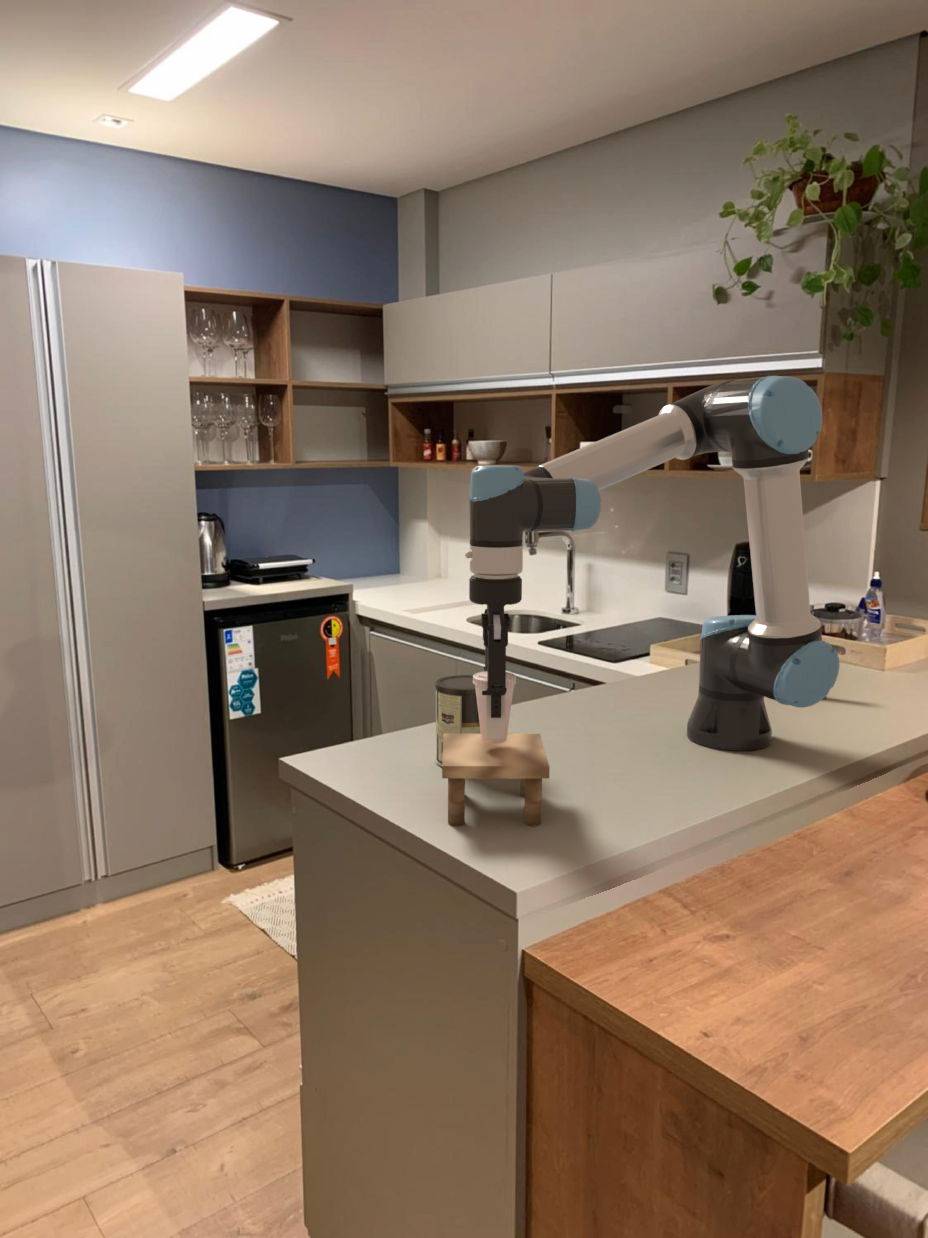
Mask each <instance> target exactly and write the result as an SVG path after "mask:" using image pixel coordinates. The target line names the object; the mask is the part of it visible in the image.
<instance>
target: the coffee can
mask: <svg viewBox="0 0 928 1238" xmlns="http://www.w3.org/2000/svg"><path fill="white" fill-rule="evenodd" d="M473 675H474V674H457V675H449V676H444V677H441V678H437V679H436V680H435V681H434V687H435V764H436V765H437V766H439V767H440V768H442V760H443V737H444V734H481V731H480V723H479V714H478V706H477V697H476V689H475V684H474V683H473Z"/></svg>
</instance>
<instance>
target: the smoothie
mask: <svg viewBox="0 0 928 1238" xmlns="http://www.w3.org/2000/svg"><path fill="white" fill-rule="evenodd" d="M472 675H473V683H474V684H475V689H476V697H477V706H478V714H479V723H480V731H481V740H482V741H483V742H486V743H493V744H496V743H503V742H505V741H506V740H507V734H509V733H508V731H509V726H510V725H509V723H510V716H511V709H512V702H513V696H514V688H515V685H516V684H517V675H516V674H515V673H511V672H508V671H506V688H507V691H506V694H505V739H486V695H482V691H486V689H487V671H485V670H484V671H479V672H477V673H474V674H472ZM493 686H501V685H493Z"/></svg>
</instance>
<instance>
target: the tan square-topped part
mask: <svg viewBox="0 0 928 1238" xmlns="http://www.w3.org/2000/svg"><path fill="white" fill-rule="evenodd" d="M545 749H546V748H545V746H544V742H543V740H542V736H541V733H507V740H506V741H505V742H503V743H496V744H493V743H486V742H483V741H482V740H481V734H444V737H443V760H442V767H441V773H442V774H441V779H447V824H448V825H449V826H453V827H459V826H463V825H465V823H466V820H465V819H466V816H465V815H466V805H465V804H466V779H519V796H520V797H522V798H524V824H525V825H527V826H530V827H537V826H540V825H541V824H542V812H543V811H542V805H543V804H542V803H543V802H542V801H543V796H542V795H543V779H549V780H550V767H551V766H550V763H549V760H548V756H547V754H546V750H545Z"/></svg>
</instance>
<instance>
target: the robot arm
mask: <svg viewBox="0 0 928 1238" xmlns="http://www.w3.org/2000/svg"><path fill="white" fill-rule="evenodd" d="M822 426H823V409H822V405H821V403H820V400H819V398H818V396H817V394H816V392H815V391H814V389H813V388H812V387H811V386H809V385H808V384H807V383H806V382H805V381H804V380H802V379H800V378H798V377H794V376H787V375H786V376H781V375H767V376H762V377H752V378H743V379H731V380H730V379H729V380H725V381H721V382H716V383H715V384H712V385H709V386H707V387H704V388H703V389H700V390H698V391H695V392H694V393H693V392H692V393H690V394H689V395H687V396H685V397H683V398H680V399H679V400H676V401H674V402H672V403H668V404H666V405H665V406H663V407H662V408H661V409H660V411H659V412H658V415H656V416H654V417H651V418H649V419H646V420H644V421H642V422H639V423H636V424H635V425H632V426H629V427H628V428H626V429H623V430H621V431H618V432H616V433H613V434H611V435H608V436H606V437H604V438H602V439H599V440H597V441H594V442H593V443H589V444H587V445H585V446H582V447H580V448H578V449H576V450H575V449H574V450H573V451H570V452H568V453H566V454H563V455H560V456H558V457H556V458H554V459H552V460H548V461H546V462H545V463H541V464H540V465H538V466H535V467H532V468H530V469H528V470H525V471H524V469H523V468H522V467H521V466H520V465H490V464H489V465H485V464H484V465H476V466H475V467H473V468H472V470H471V473H470V480H469V495H468V501H469V550H470V551H469V550H468V551H466V552H465V554H464V557H465V558H466V559H469V571H470V573H471V574H473V575H471V576H470V578H469V579H468V580H469V588H468V590H469V591H468V594H469V595H468V596H469V601H470V602H471V603H473V604H476V605H481V606H482V605H486V608H485V609H484V613H481V615H480V616H481V617H480V618H481V619H480V620H481V623H480V624H481V629H482V640H483V645H484V646H483V647H484V667H483V670H484V671H487V689H486V691H482V695H486V739H505V694H506V691H507V688H506V672H507V669H506V667H507V658H506V657H507V647H508V644H509V628H510V622H511V620H510V616H509V613H508V612H507V613H505V606H507V605H508V606H512V605H516V604H519V603H521V601H522V599H523V578H521V576H520V575H519V574H521V573H522V572H523V571H524V570H523V569H524V568H523V561H524V560H523V559H524V557H523V552H524V551H523V549H524V547H523V546H524V544H523V539H524V538H523V537H524V533H525V532H526V533H531V532H557V531H558V532H565V531H571V532H575V531H580V530H588V529H591V528H592V527H594V526H595V525H596V523H598V520H599V517H600V514H601V511H602V510H601V506H602V505H601V502H602V501H601V500H602V499H601V494H600V491H602V490H604V489H606V488H609V487H610V486H612V485H616V484H618V483H620V482H622V481H625V480H627V479H630V478H632V477H633V476H636V475H639V474H641V473H643V472H645V471H647V470H650V469H652V468H654V467H657V466H659V465H662V464H663V463H664V464H665V463H666V462H668V461H671V460H673V459H676V460H681V461H684V460H688V459H690V458H693V457H695V456H698V455H702V454H708V453H719V452H720V453H723V452H724V453H725V452H726V453H731V463H732V470H734V471H735V472H737V474H739V475H740V476H741V477H742V478H743V487H744V488H743V489H744V497H745V509H746V511H745V512H746V521H747V531H748V532H747V533H748V540H749V543H748V544H749V551H750V563H751V573H752V574H751V575H752V583H753V585H752V586H753V597H754V607H755V614H754V615H753V614H739V615H737V614H735V615H719V616H712V617H709V618H707V619H705V620H704V621H703V623H702V627H701V635H700V637H699V641H700V646H699V647H700V648H699V650H700V651H699V652H700V653H699V670H698V671H699V673H698V674H699V676H698V695H697V698H696V700H695V704H694V706H693V708H692V711H691V713H690V716H689V718H688V720H687V725H686V736H687V738H688V739H689V740H690V741H692V742H694V743H695V744H698V745H701V746H704V747H707V748H713V749H717V750H718V749H719V750H724V751H726V750H727V751H754V749H755V750H759V749H760V748H761V749H764V748H766V747H768V746H770V745H771V744H772V735H773V734H772V733H773V731H772V726H771V721H770V719H769V715H768V711H767V707H766V703H765V698H767V699H770V700H774V701H775V702H777V703H779V704H780V705H782V706H783V705H785V706H792V707H795V708H800V709H801V708H809V707H812V706H814V705H816V704H818V703H820V702H821V701H822V700H823V698H824V697H825V696H826V695H827V696H828V695H829V693H830V691H831V689H832V688H833V687H834V686H835V684H836V681H837V679H838V676H839V671H840V657H839V654H838V651H837V650H836V648H834V647H833V646H832V645H831V644H830V643H829V642H826V641H825V640H823V635H822V623H821V620H820V619H818V618H817V617H816V616H814V615H813V614H812V613H811V607H810V606H811V604H810V592H809V589H810V588H809V579H808V578H809V576H808V565H807V564H808V563H807V551H806V550H807V549H806V542H805V541H806V539H805V526H804V513H803V512H804V511H803V500H802V499H803V498H802V488H801V485H802V484H801V475H800V471H801V469H802V468H803V466H805V464H806V463H807V462H808V461H809V459H810V458H809V449H810V448H811V447H812V446H813V445H814V444H815V443H816V441H817V439H818V436H817V435H818V434H820V433H821V431H822V428H823V427H822ZM493 685H501V686H493ZM770 743H771V744H770Z"/></svg>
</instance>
